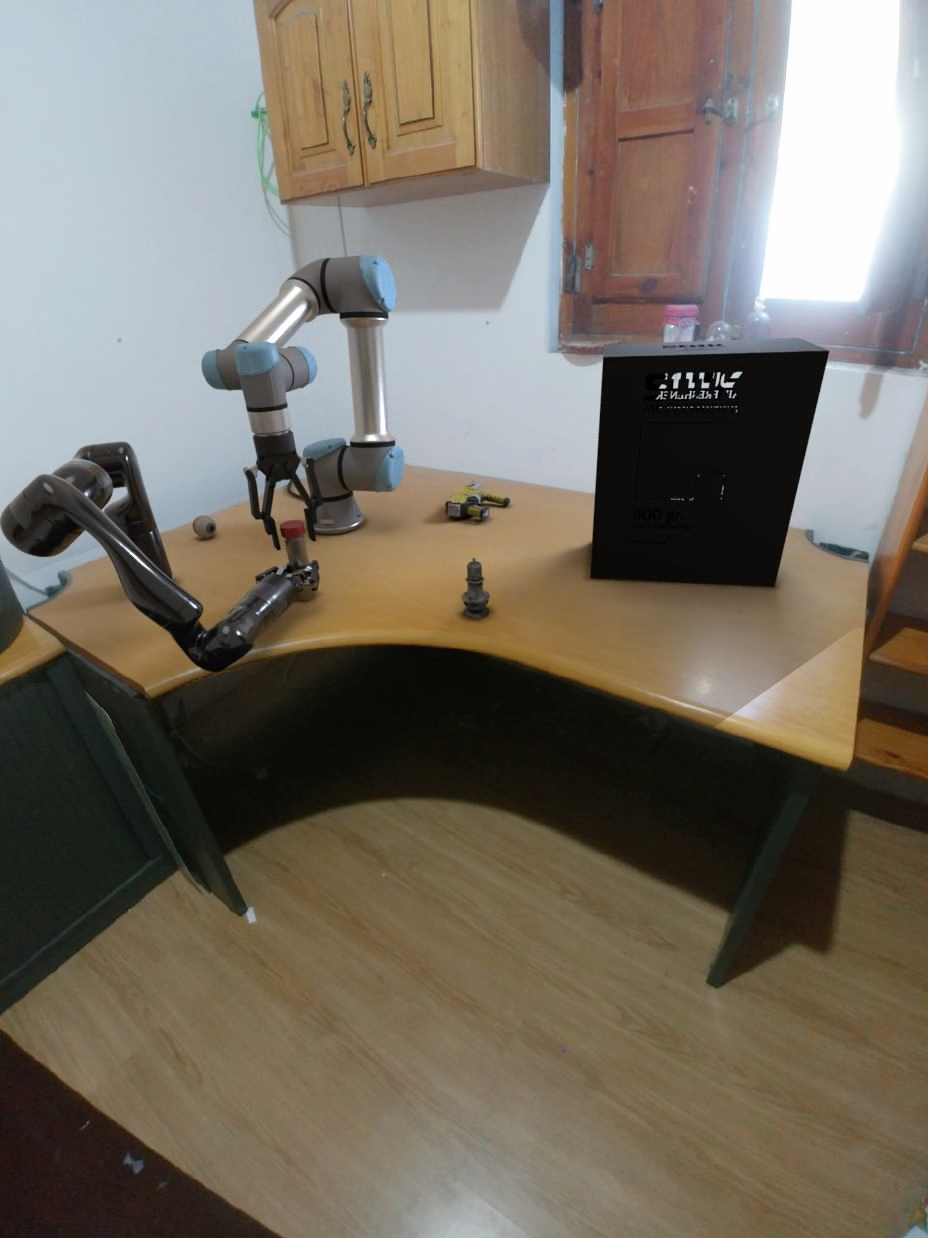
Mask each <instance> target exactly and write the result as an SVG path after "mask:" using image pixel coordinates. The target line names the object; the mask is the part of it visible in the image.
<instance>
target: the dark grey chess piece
mask: <svg viewBox="0 0 928 1238" xmlns="http://www.w3.org/2000/svg"><path fill="white" fill-rule="evenodd" d="M471 560H472V561H471ZM471 560H470V562H468V563H467V565H466V574H467V575H466V576H467V577H466V578H465V582H466V583H467V589H466V591H464V592H463V593H462V594H461V596H460V599H461V600H462V602H463V605H464V606H465V608H464V609H463V615H464V616H465V617H467V618H469V619H481V618H485V617H487V616H488V615H489V614H490V609H489V608H488V607H487V606H488V604H489V602H490V599H491V594H490V592H489V591H487V590H484V581H485V577H484V576H483V566H482V563H481V562H480V561H477V560H476V557H473V558H472V559H471Z"/></svg>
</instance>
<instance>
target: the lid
mask: <svg viewBox="0 0 928 1238" xmlns="http://www.w3.org/2000/svg"><path fill="white" fill-rule="evenodd" d="M279 531H280V536H281V537H282V538H283V539H284V538H286V539H294V538H298V537H301V536H303V535H304V536H305V535H306V529H305V525H304V521H302V520H299V519H292V520H286V521H283V522H282V523H280V524H279Z"/></svg>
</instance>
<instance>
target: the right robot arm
mask: <svg viewBox="0 0 928 1238" xmlns="http://www.w3.org/2000/svg"><path fill="white" fill-rule="evenodd" d="M395 282H396V281H395V278H394V275H393V272H392V270H391V268H390V266H389V264H388V263H387V262H386V260H385V259H384V258H382V257H381V256H379V255H370V254H369V255H366V254H360V255H350V256H340V257H339V256H338V257H325V258H324V257H323V258H319V259H316V260H314V261H311V262H309V263H308V264H306V265H304V266H303V267H301V268H299V269H298V270H296V271H295V272H294V273H293V274H292V275H290V276H289V277H288V278H287V279H286V280H285V281H284V282H282V284H281V285H280V287H279V291H278V295H277V296H276V297H275V298H274V299H273V300H272V301H271V302H270V303H269V304H268V305H267V306H266V307H265V308H264V309H263V310H262V311H261V313H259V314H258V316H256V317H255V318H254V319H253V321H251V323H249V325H247V326H246V327H245V329H244V330H242V331H241V333H239V335H237V337H235V338H234V339H233V340H232V342H231V343H229V344H228V345H227V346H226V347H225V348H223V349H220V348H216V349H213V350H212V349H211V350H208V351H206V352H205V353H204V354H203V356H202V359H201V363H200V364H201V373H202V376H203V377H204V380H205V381H206V383H207V384H208V385H209V386H210V387H211V388H213V389H215V390H219V391H220V390H222V391H228V392H231V391H242V395H243V398H244V399H243V400H244V402H245V409H246V413H247V417H248V423H249V427H250V431H251V433H253V435H252V440H253V445H254V449H255V455H256V462H255V464H254V465H252V466H250V467H247V466H245V467H243V469H242V472H243V475H244V476H245V478H246V480H247V481H246V482H247V489H248V497H249V505H250V514H251V516H252V518H254V519H255V520H256V521H259V520H261V521H262V523H263V527H264V532H265V533H266V534H267V536H271V539H272V544H273V547H274V548H275V550H276V551H277V552H278V551H281V550H282V547H281V542H280V538H279V534H278V529H277V526H276V524H277V523H276V520H275V518H273V516H271V515H272V511H273V510H272V509H273V503H274V495H275V489H276V487H277V483H279V482H282V481H289V482H288V483H287V485H286V486H287V487H286V489H287V491H288V493H289V494H290V495H292V496H294V497H295V498H298V499H301V500H302V501H303V502H304V504H305V506H306V507H305V508H303V514H304V518H305V519H304V520H305V524H306V529H307V534H308V538H309V540H310V541H311V542H313V543H314V542H317V536H316V534H317V535H323V536H324V535H325V536H327V535H329V536H331V535H339V534H340V535H341V534H345V533H350V532H353V531H355V530H357V529H359V528H361V527H362V526H363V525H364V523H365V519H364V514H363V512H362V510H361V508H360V505H359V504H358V501H357V500H356V498H355V495H354V492H375V493H377V494H380V493H391V492H393V491H395V490H397V489H398V487H399V486H400V484H401V482H402V479H403V476H404V472H405V462H406V461H405V460H406V458H405V454H404V450H403V448H402V447H400V446H398V445H396V437H394V436H393V434H392V433H390V429H389V413H388V412H389V411H388V397H387V396H388V395H387V379H386V377H387V376H386V361H385V342H384V328H385V326H387V324H388V323H389V319H390V318H389V313H391V312H392V311H394V310H395V309H396V306H397V301H398V299H397V297H398V295H397V287H396V283H395ZM333 314H335V315H338V314H339V316H338V317H339V322H340V323H341V324H342V326H344V327H345V328H346V334H347V347H348V361H349V372H350V384H351V399H352V410H353V411H352V412H353V425H354V433H353V435H352V436H351V437H350V438H349V445H348V444H347V441H346V439H345V438H342V437H334V438H328V439H323V440H318V441H315V442H313V443H309V444H308V445H306V446H305V447H304V448H303V450H302V456H300V455H299V453H298V452H297V446H296V441H295V436H294V432H293V430H291V429H292V428H293V426H292V425H293V424H292V420H291V416H290V411H289V404H288V400H287V393H290V392H293V391H295V390H298V389H304V387H305V388H306V387H307V386H308V385H310V384H312V383H313V382H314V380H315V379H316V377H317V376H318V375H317V374H318V364H317V360H316V358H315V356H314V354H313V353H312V352H311V351H310V350H309V349H308V348H306V347H304V346H300V345H293V346H291V345H290V346H287V347H284V346H285V345H286V344H287V343H288V342H289V341H290V340H291V339H292V338H293V337H294V335H295V334H296V333H297V332H298V331H299V329H300V328H301V327H302V326H303V325H304V324H305V323H306V324H307V323H310V322H313V321H314V320H315V319H316V318H317V317H319V316H322V315H333ZM300 464H301V466H302V468H304V471H305V477H306V481H307V486H308V491H307V490H306V488H305V486H304V484H303V483H302V481H301V479H300V477H299V476H298V474H297V470H298V468H299V466H300ZM258 472H261V473H262V474H263V475H264V477H265V479H264V491H263V498H262V505H261V507H260V501H259V500H260V499H259V491H258V483H257V478H258V476H259V475H258ZM292 484H293V486H294V488H295V490H296V491H297V493H296V492H294V491H292V489H291V485H292ZM308 492H309V493H308Z"/></svg>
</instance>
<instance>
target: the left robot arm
mask: <svg viewBox="0 0 928 1238" xmlns="http://www.w3.org/2000/svg"><path fill="white" fill-rule="evenodd" d="M121 488H126V494H125V495H124V496H122V497H121V498H118V500H115V501H112V502H111V503H109V502H110V501H111V499H112V497H113V494H114V493H113V492H114V489H121ZM0 530H1V533H2V534H3V536H4V538H5V539H6V540H7V542H8V543H9V544H11V545H12V546H13V547H14V548H15V549H16V550H18V551H20V552H22V553H24V554H27V555H28V556H29V555H30V556H32V557H37V558H52V557H56V556H58V555H60V554H62V553H63V552H65V551H66V550H67V549H69V548H70V546H71V545H72V544H73V543H74V542H75V541H76V540H77V539H78V538H80V536H81V535H82V534H83V533H84V532H87V533H88V534H89V535H90V536H92V537H93V538H94V539H95V540H96V541H97V542H98V543H99V545H100V546H101V547H102V548H103V550H104V551H105V552H106V554H107V555H108V557H109V559H110V561H111V563H112V565H113V568H114V570H115V572H116V574H117V577H118V579H119V582H120V585H121V587H122V589H123V591H124V594H125V595H126V597H127V599H128V600H129V602H130V603H131V605H133V606H134V607H135V608H136V610H137V611H139V612H140V613H141V614H142V615H144V616H145V617H147V619H149V620H151V622H153V623H154V624H156V625H158V626H159V627H160V628H161V629H162V630H163V631H165V632H167V633H168V635H170V637H171V638H172V639H173V641H174V642H175V643H176V644H177V645H176V646H178V647H179V648H180V650H181V651H182V652H183V653H184V654H185V655H186V657H187V658H188V659H189V660H190V661H191V663H193V665H195V666H196V667H198V668H199V669H201V670H204V671H206V672H209V673H220V672H223V671H225V670H226V669H227V668H230V667H231V666H232V665H234V664H235V663H236V662H238V661H240V660H241V659H243V658H244V657H245V656H246V655H248V654H249V652H250V651H251V650H252V649H253V648H254V647H255V646H256V644H257V643H258V641H259V639H260V638H261V636H262V635H263V634H264V633H265V632H266V631H267V630H268V628H270V626H271V625H273V624H274V623H275V622H277V621H278V620H279V619H280V618H281V617H282V616H283V615H284V614H285V612H286V611H287V610H289V608H290V607H291V606H292V605H293V604H294V603H295V602H296V599H297V597H296V596H297V594H298V593H299V592H302V591H303V590H304V588H311V590H312V591H315V592H317V591H318V589H319V585H320V581H321V578H320V572H319V571H320V564H319V562H318V560H317V559H313V560H311V562H309V565H308V566H307V567H306V568H304V569H303V570H301V569H298V570H297V571H295V572H293V573H292V574H291V569H290V564H289V562H287V563H286V564H284V565H281V566H280V567H278V566H277V565H275V566H272V567H270V568H268V569H266V570H264V571H262V572H260V573H259V574H257V575H255V576H254V578H255V583H256V584H255V585H253V587H252V588H250V590H249V591H248V592H247V593H246V594H245V595H244V597H242V599H240V600H239V602H237V604H235V605H234V606H233V607H232V608H231V609H230V610H229V611H228V613H227V615H226V616H225V617H224V618H222V619H220V621H218V622H217V623H216V624H215V625H213V626H212V627H211V628H209V629H208V630H207V629H206V628H205V626H204V625H203V624H202V623H201V617H202V616H203V613H204V606H203V604H202V603H201V601H199V600H198V599H197V598H196V597H195V596H194V595H192V594H191V593H189V592H188V591H187V590H186V589H185V588H184V587H182V586H181V585H180V584H179V583H177V581H176V579H175V573H174V572H173V570H172V568H171V564H170V562H169V559H168V558H169V557H168V555H167V552H166V549H165V546H164V542H163V540H162V537H161V535H160V531H159V528H158V524H157V521H156V518H155V516H154V513H153V509H152V505H151V503H150V499H149V496H148V493H147V490H146V487H145V483H144V479H143V475H142V471H141V468H140V464H139V461H138V456H137V454H136V452H135V450H134V448H133V446H132V445H131V444H130V443H129V442H127V441H123V440H122V441H121V440H119V441H111V442H103V443H101V442H100V443H95V444H94V443H93V444H88V445H87V444H86V445H85V446H81V447H80V448H79V449H77V451H76V452H75V453H74V455H73V457H72V458H71V459H70V460H68V461H67V462H66V463H64V464H62V465H61V466H59V467H58V468H56V469H55V470H53V471H52V473H42V474H39V475H37V476H36V477H35V478H34V479H33V480H31V482H29V483H28V484H27V485H26V486H25V487H24V488H23V489H22V490H21V491H20V492H19V493H18V494H17V495H16V496H15V497H14V498H13V499H12V500H11V501H10V502H9V503H8V504H7V506H5V507H4V509H3V510H2V512H1V514H0ZM306 573H307V577H306Z"/></svg>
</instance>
